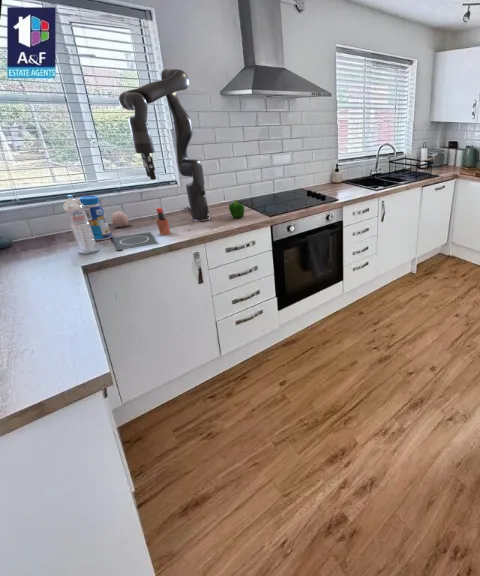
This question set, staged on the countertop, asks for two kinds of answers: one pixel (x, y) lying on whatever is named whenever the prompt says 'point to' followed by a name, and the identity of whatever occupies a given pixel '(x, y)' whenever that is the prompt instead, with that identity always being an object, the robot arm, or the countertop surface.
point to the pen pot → (163, 226)
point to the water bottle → (80, 226)
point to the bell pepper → (236, 209)
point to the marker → (160, 213)
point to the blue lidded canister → (96, 217)
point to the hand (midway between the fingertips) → (151, 178)
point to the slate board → (133, 241)
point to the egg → (119, 219)
